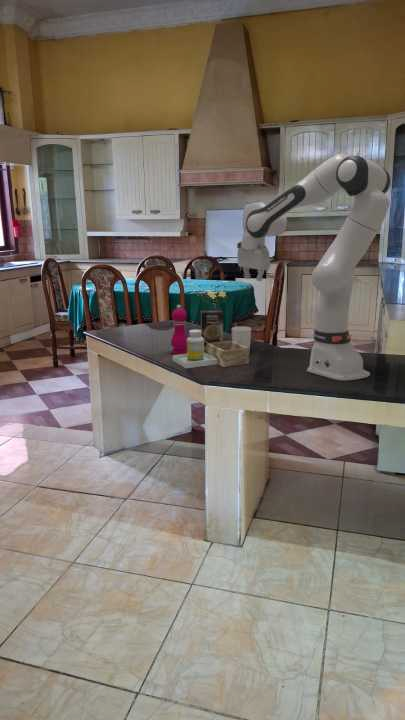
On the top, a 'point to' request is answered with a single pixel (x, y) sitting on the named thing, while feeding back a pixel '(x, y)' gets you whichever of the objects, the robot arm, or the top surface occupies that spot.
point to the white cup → (242, 336)
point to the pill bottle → (195, 346)
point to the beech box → (228, 353)
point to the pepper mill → (179, 332)
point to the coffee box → (211, 326)
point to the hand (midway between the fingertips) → (253, 279)
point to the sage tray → (186, 364)
